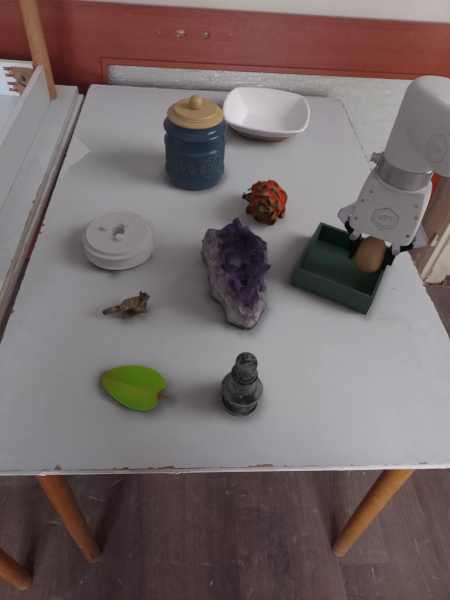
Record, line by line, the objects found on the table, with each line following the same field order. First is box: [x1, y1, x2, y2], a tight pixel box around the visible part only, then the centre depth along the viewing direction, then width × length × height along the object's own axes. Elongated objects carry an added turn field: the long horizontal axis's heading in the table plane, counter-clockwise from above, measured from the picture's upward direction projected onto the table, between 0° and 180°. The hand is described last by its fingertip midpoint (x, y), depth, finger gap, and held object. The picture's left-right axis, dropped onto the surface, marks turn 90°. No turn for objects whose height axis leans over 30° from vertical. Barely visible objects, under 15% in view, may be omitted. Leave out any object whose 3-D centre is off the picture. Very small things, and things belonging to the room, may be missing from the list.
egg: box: [354, 235, 387, 274], centre depth 78 cm, size 5×5×8 cm
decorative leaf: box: [101, 364, 170, 412], centre depth 65 cm, size 8×9×1 cm
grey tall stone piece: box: [220, 351, 264, 417], centre depth 60 cm, size 6×6×12 cm
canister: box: [162, 94, 228, 191], centre depth 93 cm, size 13×13×18 cm
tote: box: [289, 221, 390, 315], centre depth 81 cm, size 14×14×4 cm
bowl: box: [221, 86, 311, 142], centre depth 113 cm, size 22×22×5 cm
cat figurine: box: [101, 290, 151, 320], centre depth 73 cm, size 3×8×4 cm, turn 105°
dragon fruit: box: [241, 179, 288, 227], centre depth 90 cm, size 8×8×12 cm
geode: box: [200, 216, 272, 331], centre depth 76 cm, size 20×12×10 cm, turn 12°
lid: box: [81, 211, 155, 271], centre depth 82 cm, size 13×13×5 cm
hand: (368, 259), depth 79 cm, fingers closed on egg, 5 cm apart
